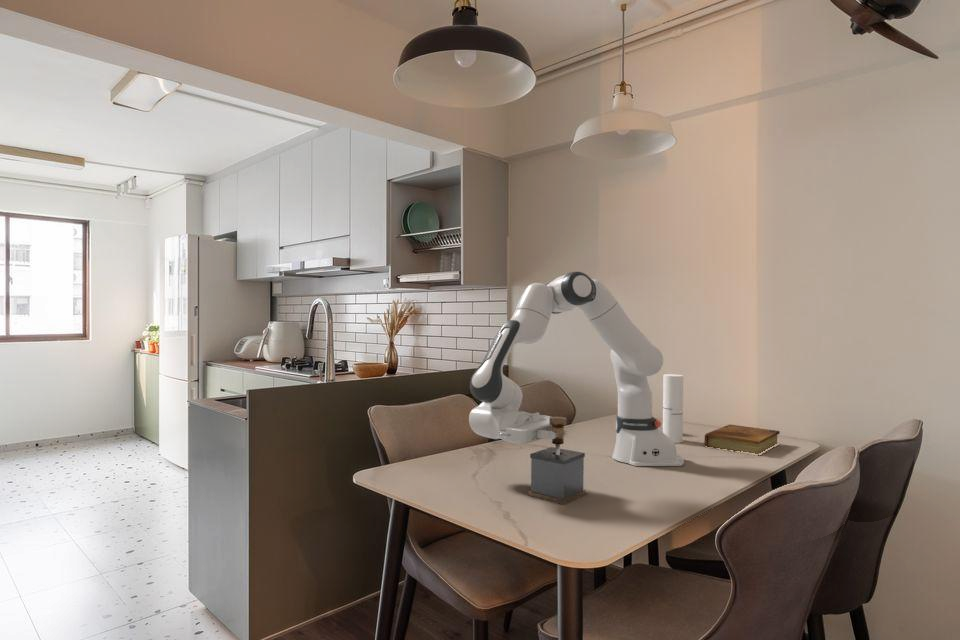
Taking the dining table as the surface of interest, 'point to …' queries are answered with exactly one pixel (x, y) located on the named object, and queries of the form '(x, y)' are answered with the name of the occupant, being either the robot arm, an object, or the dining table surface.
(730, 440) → the diary
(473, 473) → the dining table surface
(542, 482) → the grey box
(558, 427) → the plunger
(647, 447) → the robot arm
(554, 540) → the dining table surface
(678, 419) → the cylindrical container
